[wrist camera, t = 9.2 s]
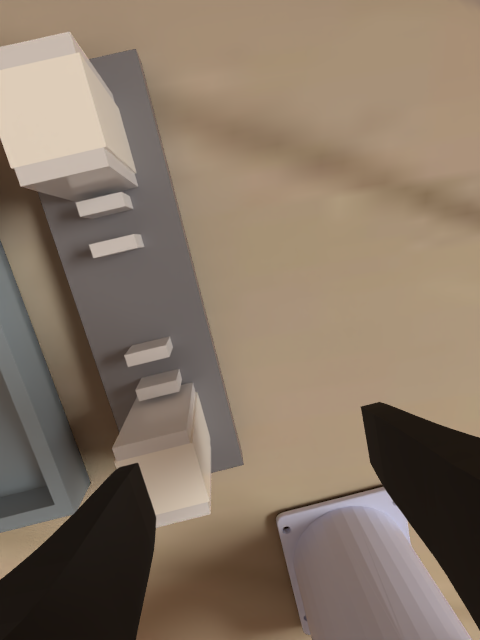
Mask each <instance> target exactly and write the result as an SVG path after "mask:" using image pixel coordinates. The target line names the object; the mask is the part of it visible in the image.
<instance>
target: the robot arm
mask: <svg viewBox="0 0 480 640" xmlns="http://www.w3.org/2000/svg"><path fill="white" fill-rule="evenodd" d="M361 410H362V416H363V422H364V428H365V434H366V440H367V445H368V451H369V457H370V463H371V465H372V467H373V468H374V470H375V472H376V474H377V476H378V478H379V479H380V481H381V483H382V485H383V486H384V487H380V488H376V489H372V490H368V491H364V492H360V493H357V494H353V495H349V496H345V497H341V498H337V499H333V500H329V501H325V502H321V503H317V504H314V505H310V506H306V507H302V508H298V509H294V510H290V511H286V512H282V513H280V514H279V515H278V516H277V518H276V523H277V527H278V531H279V535H280V539H281V543H282V547H283V552H284V556H285V560H286V564H287V568H288V572H289V576H290V580H291V584H292V588H293V592H294V596H295V600H296V604H297V608H298V612H299V617H300V621H301V625H302V629H303V632H304V633H305V634H308V635H311V638H312V640H472V639H471V637H470V635H469V634H468V632H467V631H466V629H465V628H464V626H463V625H462V623H461V622H460V620H459V619H458V617H457V615H456V614H455V612H454V611H453V609H452V608H451V606H450V605H449V603H448V602H447V600H446V599H445V597H444V595H443V594H442V592H441V591H440V589H439V588H438V586H437V585H436V583H435V582H434V580H433V579H432V577H431V576H430V574H429V572H428V571H427V569H426V568H425V566H424V565H423V563H422V562H421V560H420V559H419V557H418V556H417V554H416V552H415V551H414V549H413V548H412V546H411V543H410V536H409V530H408V523H407V520H408V522H409V523H410V524H411V526H412V527H413V528H414V530H415V531H416V533H417V534H418V535H419V537H420V538H421V539H422V541H423V542H424V543H425V545H426V546H427V547H428V549H429V550H430V551H431V553H432V554H433V556H434V557H435V558H436V560H437V561H438V563H439V564H440V566H441V567H442V569H443V570H444V572H445V573H446V575H447V577H448V578H449V580H450V581H451V583H452V585H453V586H454V588H455V590H456V591H457V593H458V595H459V596H460V598H461V600H462V601H463V603H464V604H465V606H466V608H467V609H468V611H469V613H470V615H471V616H472V618H473V620H474V621H475V623H476V625H477V626H478V628H479V630H480V438H479V437H475V436H472V435H469V434H466V433H463V432H459V431H456V430H453V429H450V428H447V427H444V426H442V425H439V424H436V423H433V422H431V421H428V420H425V419H423V418H420V417H418V416H415V415H413V414H410V413H408V412H405V411H403V410H400V409H398V408H395V407H393V406H390V405H387V404H384V403H381V402H378V403H374V404H370V405H366V406H362V407H361ZM284 527H288V528H287V529H283V528H284ZM155 531H156V514H155V511H154V508H153V505H152V502H151V499H150V496H149V494H148V491H147V488H146V485H145V482H144V479H143V476H142V473H141V470H140V467H139V464H138V463H134V464H130V465H126V466H122V467H119V468H118V469H117V470H115V471H114V472H113V473H112V474H111V475H110V476H109V477H108V478H107V479H106V480H105V481H104V482H103V484H102V485H101V486H100V487H99V488H98V489H97V490H96V491H95V492H94V493H93V494H92V495H91V496H90V497H89V498H88V499H87V500H86V502H85V503H84V504H83V505H82V506H81V507H80V508H79V509H78V510H77V511H76V512H75V513H74V514H73V515H72V516H71V517H70V518H69V519H68V520H67V521H66V522H65V523H64V524H63V525H62V526H61V527H60V528H59V529H58V530H57V531H56V532H55V533H54V534H53V535H52V536H51V537H50V538H49V539H48V540H46V541H45V542H44V543H43V544H42V545H41V546H40V547H39V548H38V549H37V550H35V551H34V552H33V553H32V554H31V555H30V556H29V557H27V558H26V559H25V560H24V561H23V562H21V563H20V564H19V565H18V566H17V567H16V568H14V569H13V570H12V571H11V572H10V573H8V574H7V575H6V576H5V577H3V578H2V579H1V580H0V640H136V635H137V630H138V625H139V620H140V616H141V611H142V606H143V601H144V597H145V592H146V587H147V582H148V577H149V572H150V568H151V563H152V557H153V552H154V543H155Z"/></svg>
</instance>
